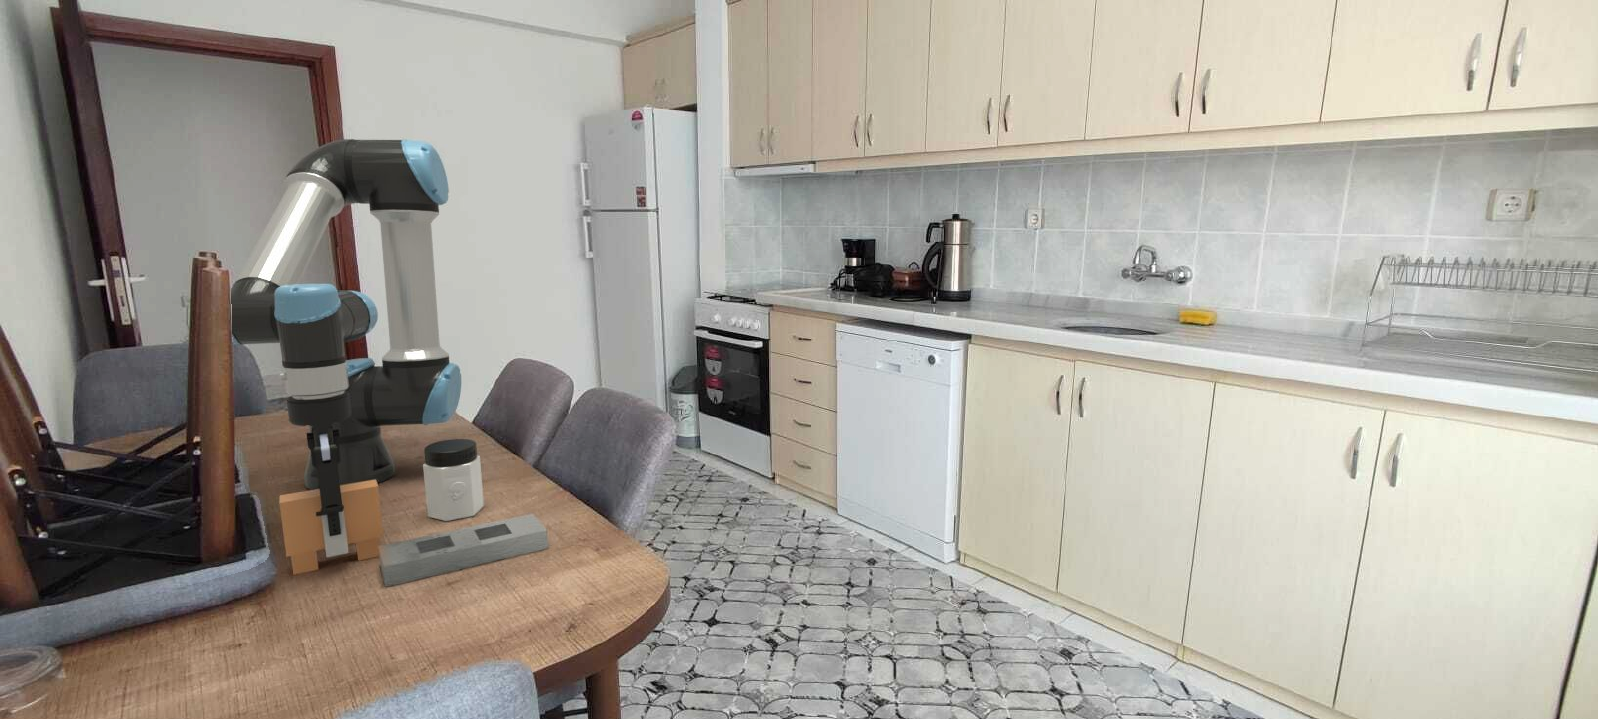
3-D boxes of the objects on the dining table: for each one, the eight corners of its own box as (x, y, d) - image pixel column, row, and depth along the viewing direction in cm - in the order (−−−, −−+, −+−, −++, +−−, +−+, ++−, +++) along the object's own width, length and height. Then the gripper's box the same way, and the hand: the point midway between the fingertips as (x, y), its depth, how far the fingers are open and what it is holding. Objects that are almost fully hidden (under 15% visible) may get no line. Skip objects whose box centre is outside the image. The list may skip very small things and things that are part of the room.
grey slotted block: (380, 565, 107) (377, 546, 107) (534, 530, 120) (533, 513, 119) (385, 587, 101) (383, 566, 100) (548, 548, 113) (546, 530, 113)
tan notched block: (289, 567, 107) (279, 495, 105) (383, 547, 114) (375, 479, 112) (289, 576, 104) (279, 502, 102) (385, 555, 111) (378, 486, 109)
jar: (431, 525, 122) (424, 455, 120) (424, 509, 129) (418, 443, 126) (488, 513, 127) (483, 446, 125) (479, 499, 133) (474, 435, 131)
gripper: (286, 385, 110) (305, 531, 114) (285, 410, 95) (307, 577, 99) (345, 379, 114) (361, 520, 118) (353, 402, 99) (371, 563, 103)
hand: (336, 546), depth 108 cm, fingers open, 5 cm apart
